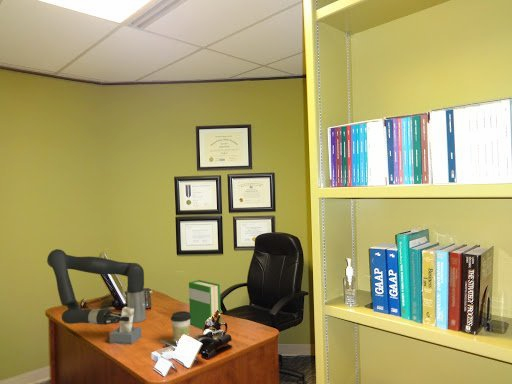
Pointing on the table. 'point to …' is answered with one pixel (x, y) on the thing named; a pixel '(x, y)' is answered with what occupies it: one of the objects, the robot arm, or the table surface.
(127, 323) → the marbled white block
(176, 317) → the coffee cup
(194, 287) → the hardback book
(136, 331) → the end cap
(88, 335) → the table surface
